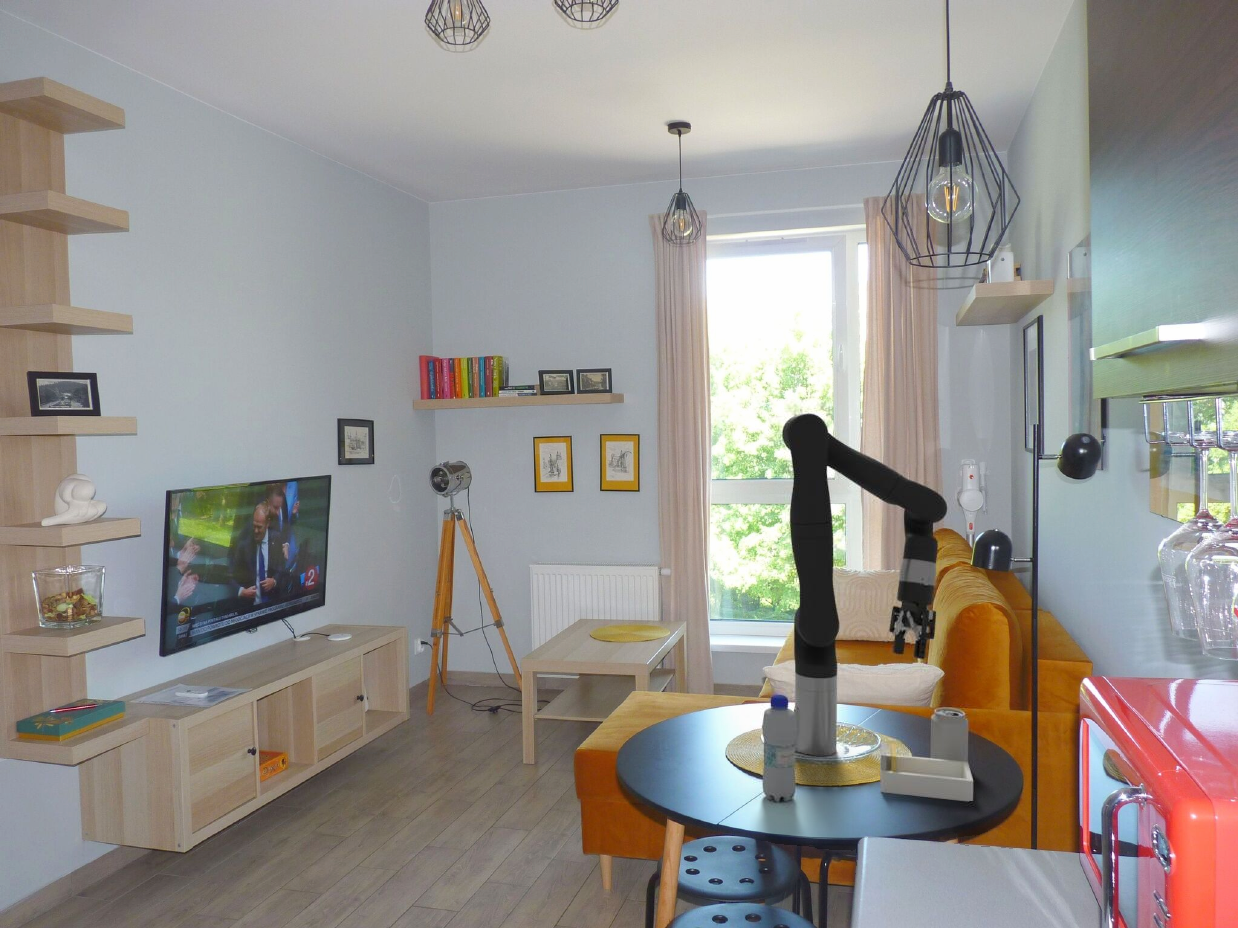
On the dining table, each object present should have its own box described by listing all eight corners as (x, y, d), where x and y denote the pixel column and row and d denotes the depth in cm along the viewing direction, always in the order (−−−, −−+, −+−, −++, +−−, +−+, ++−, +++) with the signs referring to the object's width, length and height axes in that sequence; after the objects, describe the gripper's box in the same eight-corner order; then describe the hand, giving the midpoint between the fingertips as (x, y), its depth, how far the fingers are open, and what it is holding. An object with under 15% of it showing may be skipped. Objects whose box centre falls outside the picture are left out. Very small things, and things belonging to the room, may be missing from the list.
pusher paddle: (891, 783, 179) (891, 756, 179) (890, 769, 186) (891, 743, 186) (896, 784, 179) (896, 756, 178) (895, 770, 186) (896, 743, 186)
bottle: (775, 806, 170) (776, 701, 170) (754, 794, 176) (755, 692, 176) (803, 800, 174) (804, 697, 173) (782, 788, 180) (782, 688, 179)
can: (970, 774, 187) (971, 717, 187) (932, 771, 189) (933, 715, 189) (964, 762, 195) (965, 707, 195) (928, 759, 196) (928, 704, 196)
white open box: (880, 791, 178) (881, 756, 178) (880, 772, 189) (880, 739, 188) (972, 801, 173) (973, 765, 173) (967, 781, 184) (967, 746, 184)
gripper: (885, 578, 205) (876, 650, 202) (919, 580, 191) (910, 657, 189) (914, 583, 206) (906, 655, 204) (950, 585, 192) (942, 662, 190)
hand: (908, 656), depth 196 cm, fingers open, 8 cm apart
